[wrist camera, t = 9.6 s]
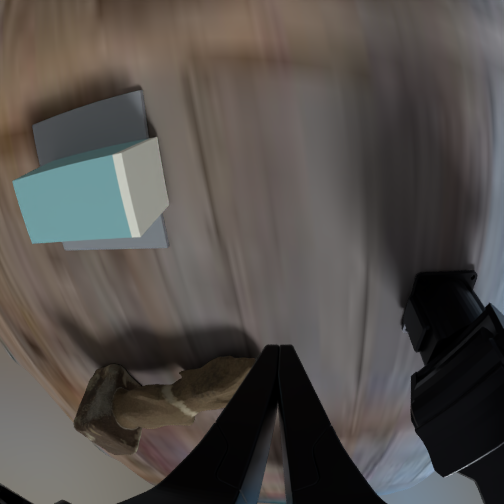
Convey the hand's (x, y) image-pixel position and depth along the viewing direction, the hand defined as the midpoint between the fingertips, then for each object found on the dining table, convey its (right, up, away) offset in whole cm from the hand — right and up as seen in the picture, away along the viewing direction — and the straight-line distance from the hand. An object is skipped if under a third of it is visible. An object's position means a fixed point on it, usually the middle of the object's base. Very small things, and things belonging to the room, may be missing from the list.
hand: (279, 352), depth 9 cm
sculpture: (-10, -10, +23) cm, 27 cm away
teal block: (-7, +7, +8) cm, 13 cm away
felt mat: (-13, +9, +12) cm, 20 cm away
